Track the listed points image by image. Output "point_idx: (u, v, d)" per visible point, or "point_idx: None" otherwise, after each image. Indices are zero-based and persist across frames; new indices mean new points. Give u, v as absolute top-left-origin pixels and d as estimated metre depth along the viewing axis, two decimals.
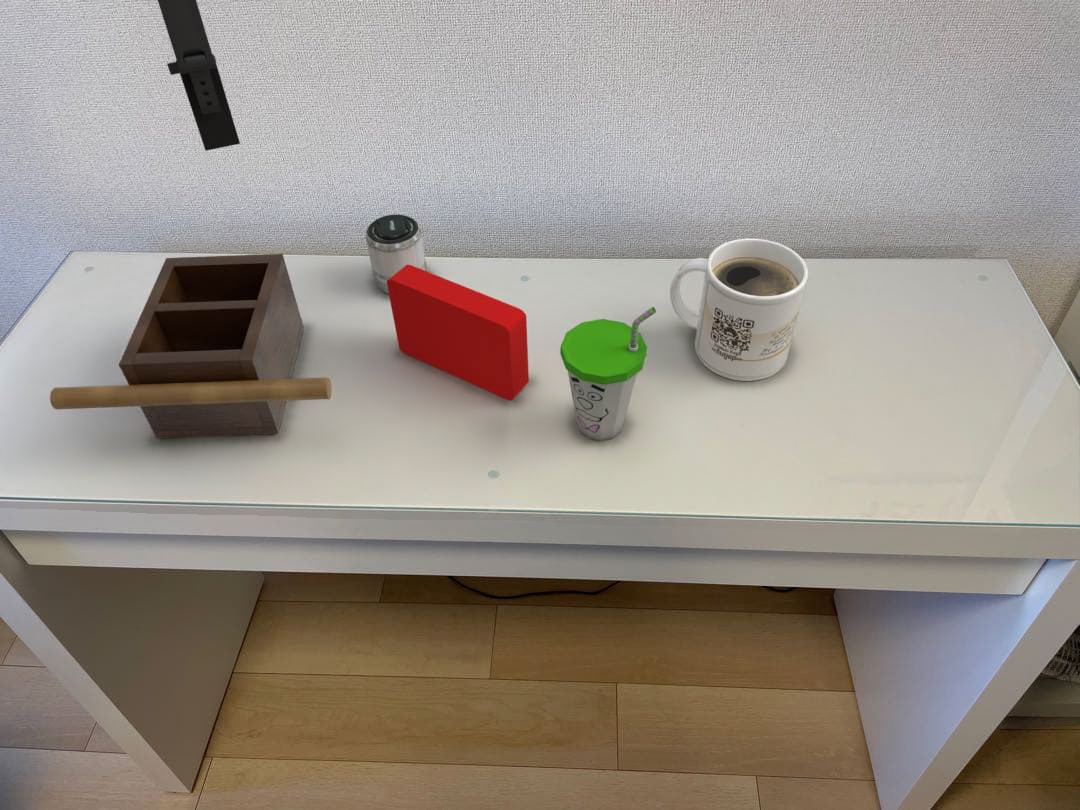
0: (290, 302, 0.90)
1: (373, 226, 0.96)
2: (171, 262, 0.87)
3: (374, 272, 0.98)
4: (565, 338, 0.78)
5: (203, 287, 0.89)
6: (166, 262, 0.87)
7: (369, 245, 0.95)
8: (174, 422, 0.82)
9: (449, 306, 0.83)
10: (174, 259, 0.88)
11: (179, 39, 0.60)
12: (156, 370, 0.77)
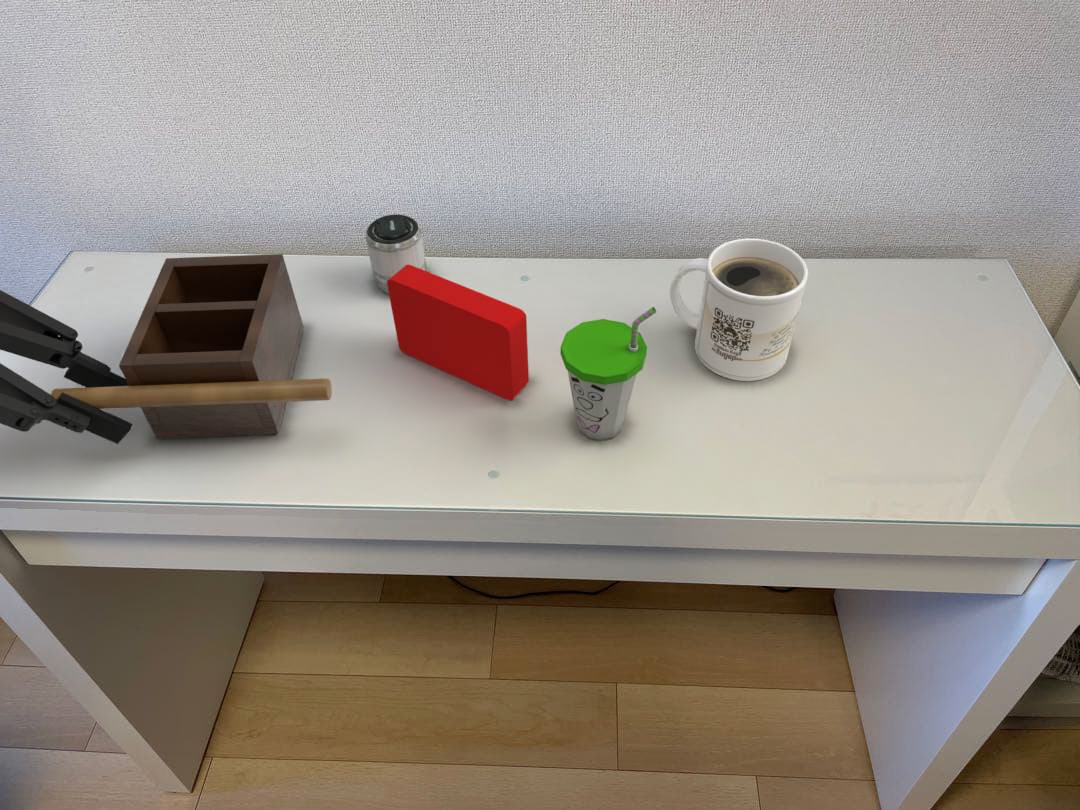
0: (290, 302, 0.90)
1: (373, 226, 0.96)
2: (171, 262, 0.87)
3: (374, 272, 0.98)
4: (565, 338, 0.78)
5: (203, 287, 0.89)
6: (166, 262, 0.87)
7: (369, 245, 0.95)
8: (174, 423, 0.83)
9: (449, 306, 0.83)
10: (174, 259, 0.88)
11: None
12: (156, 371, 0.77)
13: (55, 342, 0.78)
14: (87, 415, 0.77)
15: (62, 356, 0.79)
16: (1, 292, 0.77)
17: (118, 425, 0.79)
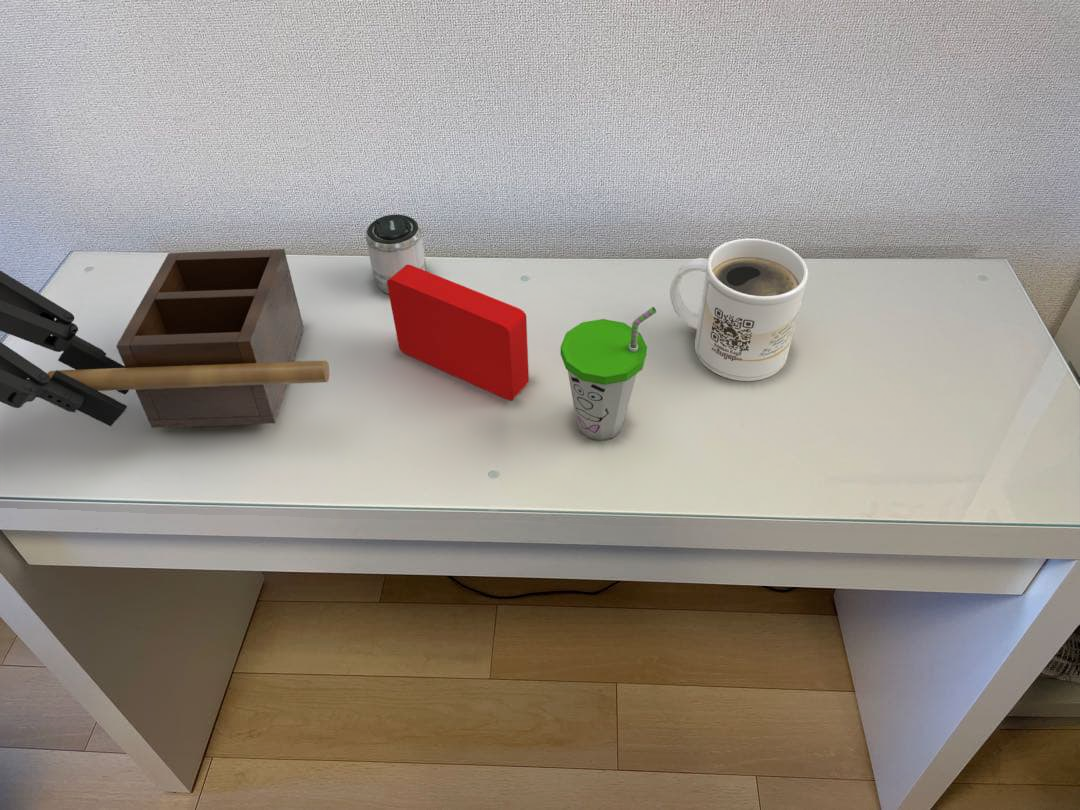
0: (291, 298, 0.91)
1: (373, 226, 0.96)
2: (173, 256, 0.88)
3: (374, 272, 0.98)
4: (565, 338, 0.78)
5: (205, 282, 0.89)
6: (168, 256, 0.88)
7: (369, 245, 0.95)
8: (170, 410, 0.82)
9: (449, 306, 0.83)
10: (176, 254, 0.88)
11: None
12: (153, 352, 0.77)
13: (51, 323, 0.78)
14: (81, 394, 0.77)
15: (57, 338, 0.78)
16: None
17: (112, 406, 0.78)
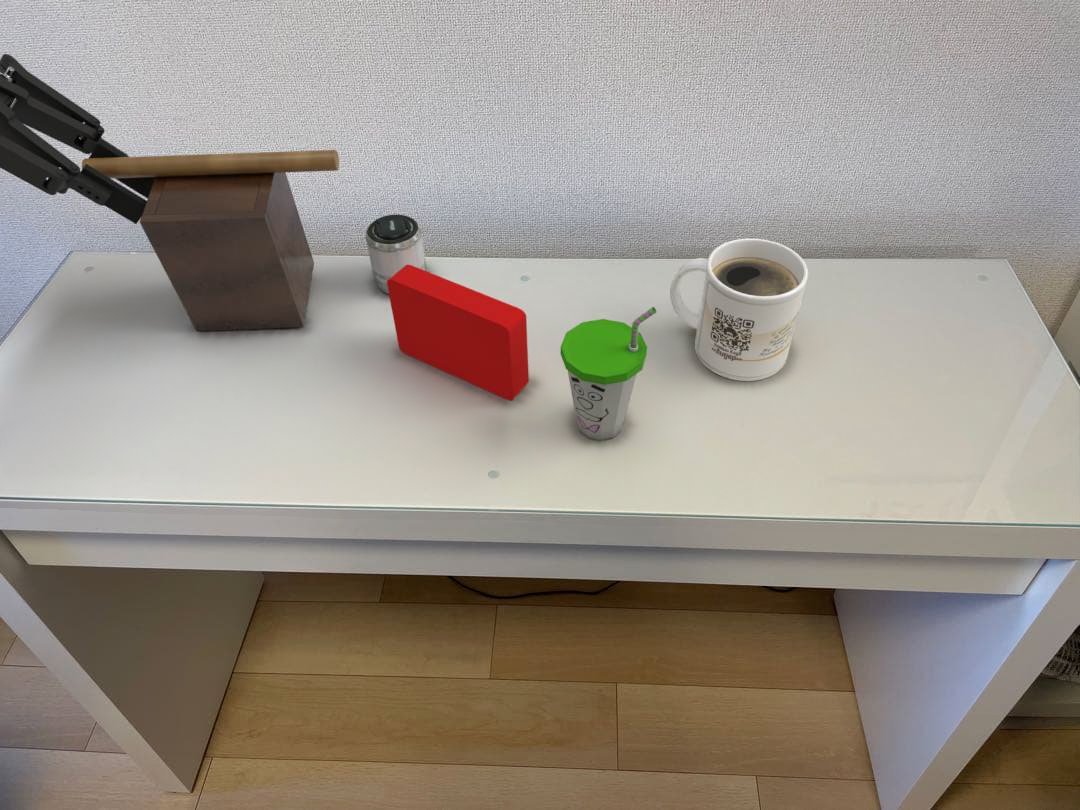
0: (305, 282, 0.97)
1: (373, 226, 0.96)
2: None
3: (374, 272, 0.98)
4: (565, 338, 0.78)
5: None
6: None
7: (369, 245, 0.95)
8: (169, 206, 0.83)
9: (449, 306, 0.83)
10: None
11: None
12: None
13: (79, 124, 0.84)
14: (109, 189, 0.83)
15: (86, 139, 0.85)
16: (30, 74, 0.83)
17: (137, 201, 0.84)
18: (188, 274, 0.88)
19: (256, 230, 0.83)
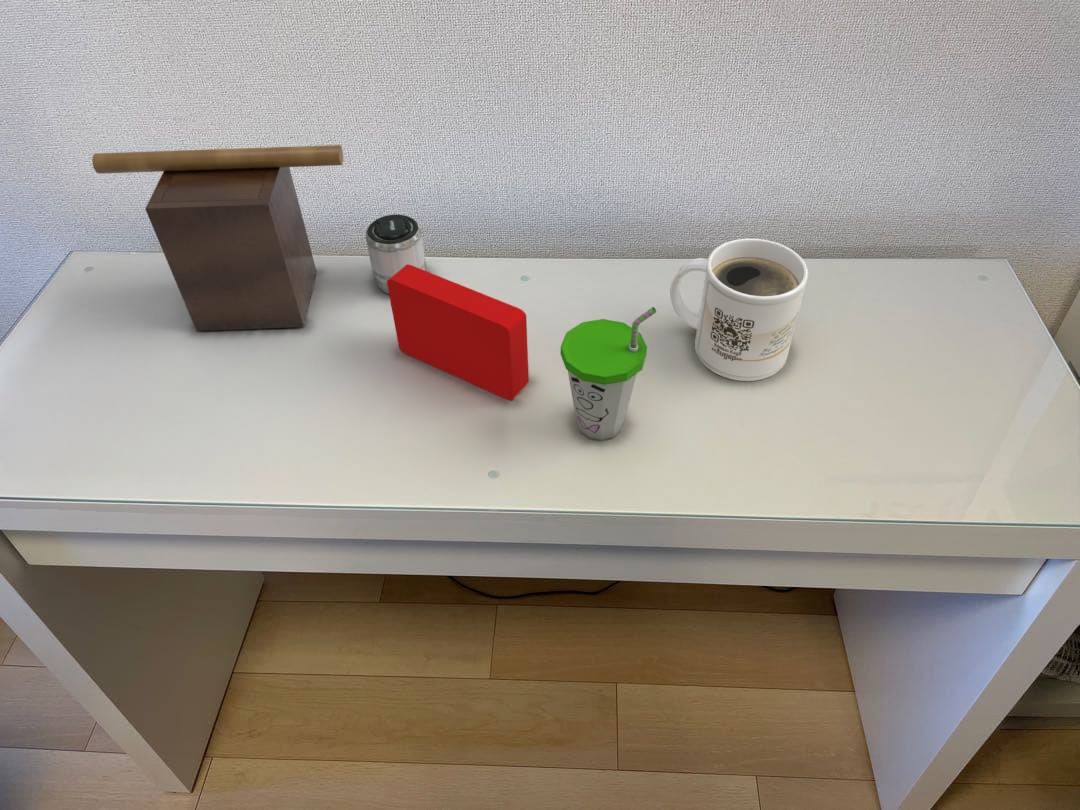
0: (307, 285, 0.97)
1: (373, 226, 0.96)
2: None
3: (374, 272, 0.98)
4: (565, 338, 0.78)
5: None
6: None
7: (369, 245, 0.95)
8: (175, 195, 0.85)
9: (449, 306, 0.83)
10: None
11: None
12: None
13: None
14: None
15: None
16: None
17: None
18: (190, 267, 0.89)
19: (259, 218, 0.85)
